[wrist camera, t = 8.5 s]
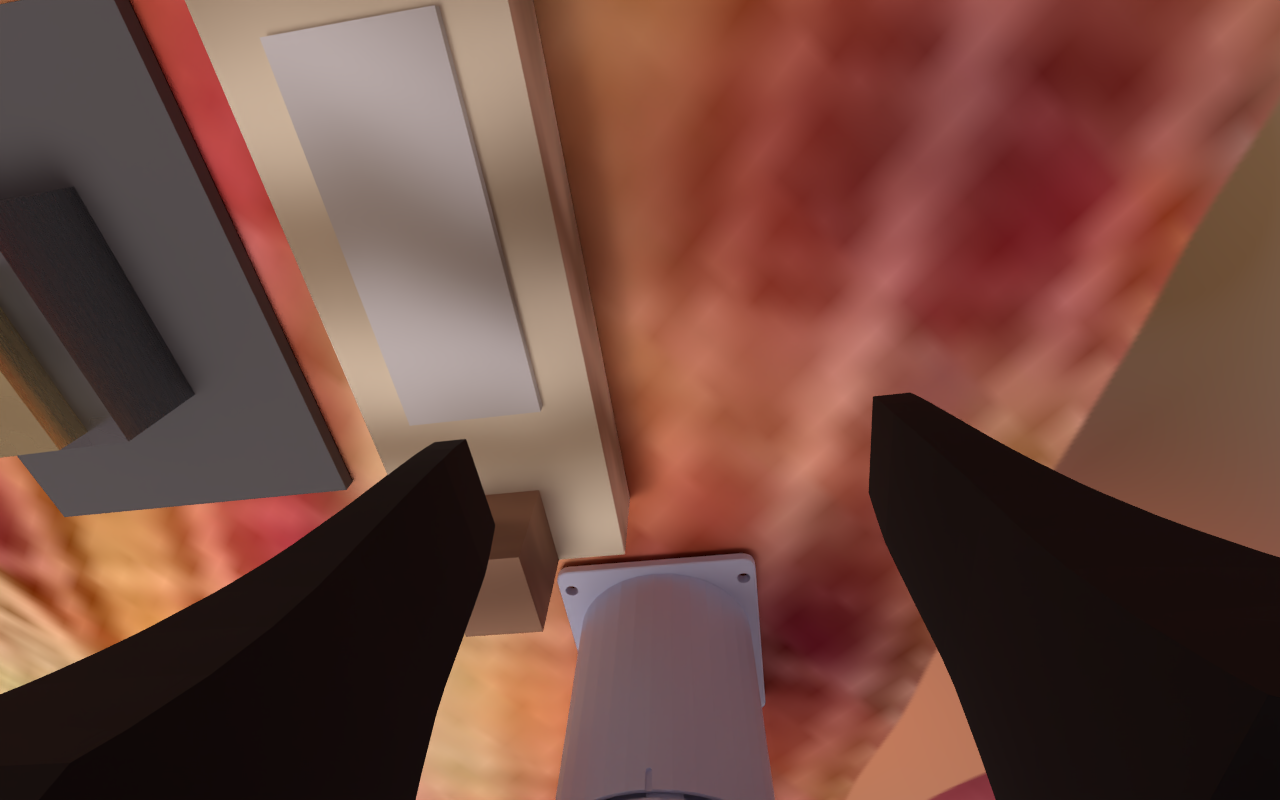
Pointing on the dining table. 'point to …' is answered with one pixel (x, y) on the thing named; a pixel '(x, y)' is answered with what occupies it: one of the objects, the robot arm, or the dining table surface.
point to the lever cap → (73, 334)
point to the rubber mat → (156, 269)
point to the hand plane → (440, 254)
